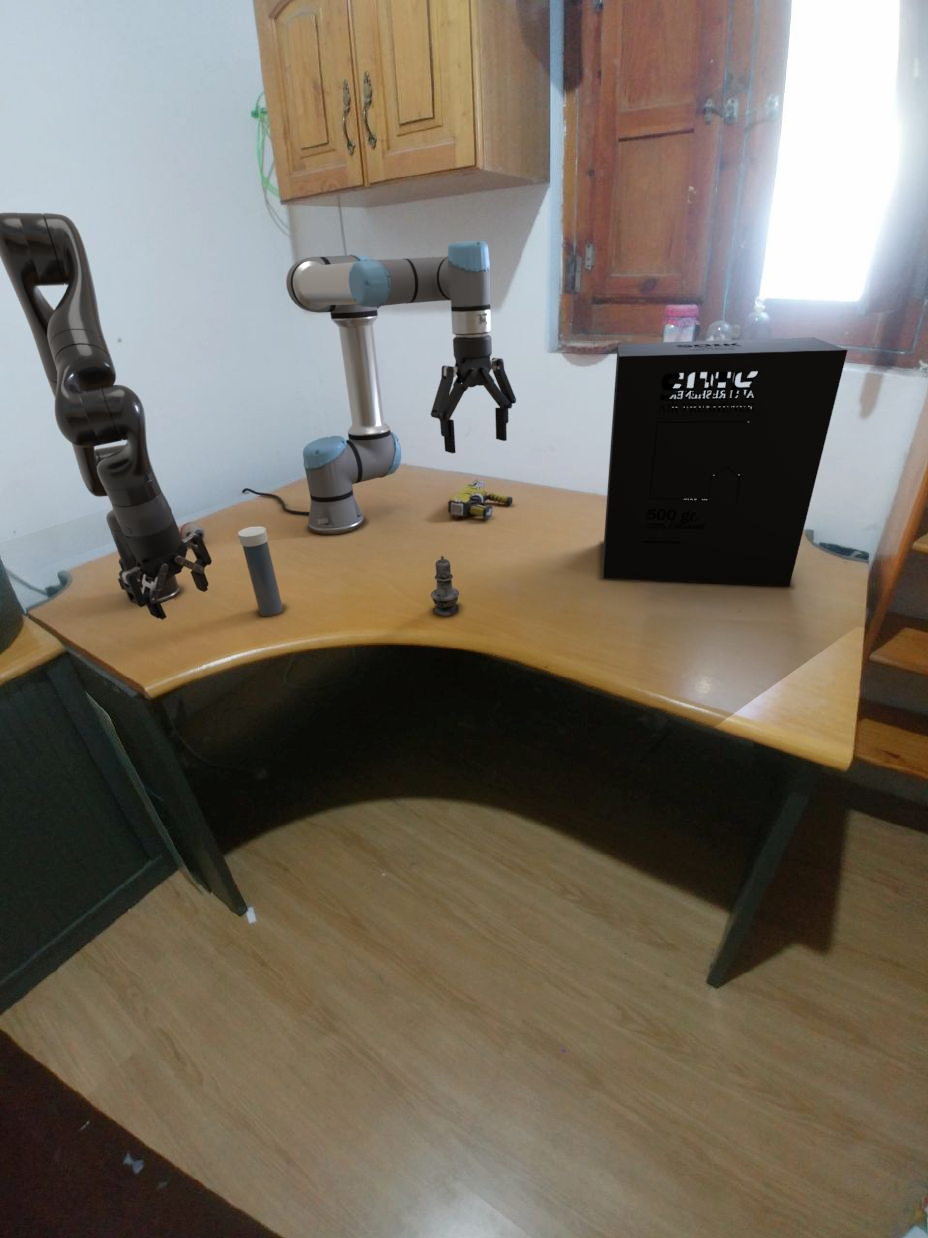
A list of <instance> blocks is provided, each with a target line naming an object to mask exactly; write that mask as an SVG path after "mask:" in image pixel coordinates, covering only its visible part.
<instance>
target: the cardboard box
mask: <svg viewBox="0 0 928 1238" xmlns="http://www.w3.org/2000/svg"><path fill="white" fill-rule="evenodd" d="M848 351H849V350H848V349H847V348H844V347H841V346H838V345H836V344H833V343H830V342H828V341H824V340H822V339H819V338H816V337H813V336H812V337H809V336H808V337H787V338H786V337H785V338H784V337H783V338H753V339H752V338H750V339H749V338H748V339H721V340H719V339H717V340H691V341H690V340H688V341H660V342H631V343H630V342H629V343H628V342H627V343H625V342H624V343H617V348H616V361H615V362H616V363H615V376H614V377H615V378H614V379H615V380H614V391H613V404H612V405H613V406H612V408H613V409H612V418H611V419H612V421H611V434H610V435H611V437H610V449H609V462H608V463H609V464H608V476H607V477H608V478H607V489H606V490H607V492H606V504H605V506H606V507H605V521H604V533H603V534H604V535H603V559H602V560H603V561H602V562H603V566H602V573H603V574H602V579H606V580H612V579H613V580H630V581H631V580H632V581H650V582H651V581H655V582H677V583H697V584H698V583H699V584H720V585H721V584H722V585H723V584H724V585H742V586H767V587H768V586H769V587H787V588H789V587H790V586H791V582H792V578H793V573H794V569H795V566H796V562H797V558H798V557H797V556H798V554H799V550H800V546H801V541H802V538H803V534H804V529H805V525H806V521H807V517H808V514H809V509H810V505H811V501H812V497H813V493H814V488H815V485H816V480H817V476H818V472H819V468H820V464H821V461H822V456H823V452H824V447H825V444H826V440H827V436H828V431H829V428H830V423H831V419H832V415H833V411H834V408H835V403H836V399H837V395H838V391H839V387H840V382H841V379H842V375H843V371H844V367H845V363H846V359H847V354H848ZM753 372H757V373H756V375H754V376H751V377H749V376H750V375H751V373H753ZM702 373H706V377H701V375H702ZM717 373H718V374H717ZM729 373H730V375H729ZM681 374H682V376H683V377H682V378H681ZM692 374H694V378H693V384H692V385H693V386H692V387H688V382H689V377H690V376H691V375H692ZM739 374H740V380H739V383H740V384H741V383H742V384H743V383H750V384H748V386H737V385H736V378H737V376H738V375H739ZM723 383H725V385H724V387H719V384H723ZM706 384H708V385H707V387H706ZM675 385H680V386H679V387H675Z"/></svg>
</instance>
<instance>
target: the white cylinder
mask: <svg viewBox="0 0 928 1238" xmlns="http://www.w3.org/2000/svg"><path fill="white" fill-rule="evenodd" d="M237 535H238V539H239V543H240V545H241V546H242V547H243V546H246V547H252V546H258V545H261V544H264V543H266V542H268V541H269V537H268V533H267V529H266V527H265V526H259V525H258V526H250V527H245V528H243V529H240V530H239V531H238V533H237Z"/></svg>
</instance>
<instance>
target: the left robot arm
mask: <svg viewBox="0 0 928 1238" xmlns="http://www.w3.org/2000/svg"><path fill="white" fill-rule="evenodd" d="M0 260H1V263H2V265H3V267H4V269H5V272H6V274H7V276H8V278H9V281H10V283H11V285H12V288H13V290H14V292H15V295H16V297H17V300H18V302H19V305H20V307H21V309H22V311H23V313H24V316H25V318H26V320H27V323H28V325H29V328H30V330H31V333H32V336H33V339H34V342H35V346H36V349H37V352H38V355H39V357H40V361H41V364H42V367H43V370H44V373H45V376H46V379H47V382H48V384H49V387H50V389H51V393H52V395H53V397H54V416H55V421H56V425H57V427H58V430H59V431H60V433H61V434H62V436H63V437H64V438H65V439H66V440H67V441H68V442H70V444H71V445H72V449H73V453H74V456H75V458H76V463H77V466H78V470H79V473H80V476H81V478H82V481H83V483H84V485H85V488H86V489H87V490H88V492H89V493H90V494H91V495H93V496H94V497H99V498H100V497H101V498H102V497H107V498H108V499H109V502H110V504H111V507H112V509H111V510H110V511H108V513H107V514H106V516H105V517H106V523H107V526H108V528H109V531H110V533H111V537H112V539H113V542H114V544H115V547H116V549H117V553H118V556H119V559H118V564H119V567H120V569H121V570H120V571H119V572H118V576H119V578H117V580H118V581H117V582H118V583H119V586H120V589H121V590H123V591H125V593H126V595H127V598H128V600H129V602H130V603H132V604H135V605H137V606H138V607H140V608H143V607H145V606H146V607H147V610H148V611H149V613H150V615H151V616H152V617H154V618H156V619H158V620H159V619H160V620H162V621H164V620H165V619H167V615H166V612H165V610H164V608H163V606H162V603H163V602H166V601H168V600H170V599H172V598H174V597H175V596H177V595H178V594H179V593H180V591H181V588H180V585H179V583H178V580H177V577H176V575H179V574H180V573H182V571H183V568H184V567H185V568H187V569H189V570H191V571H190V575H191V577H192V580H193V582H194V585H195V588H196V589H197V590H198V591H199V592H203V593H206V592H207V591H208V590H209V589H208V586H209V582H208V578H207V575H206V573H205V568H206V567H207V566H211V564H212V563H213V560H212V558H211V556H210V553H209V550H208V548H207V546H206V544H205V542H204V539H202V537H201V536H199V535H197V534H194V533H192V532H188V533H187V534H186V538H185V539H182V537H181V534H180V529H179V527H178V524H177V522H176V519H175V516H174V514H173V510H172V508H171V506H170V504H169V501H168V500H167V497H166V496H165V494H164V492H163V491H162V488H161V487H160V483H159V481H158V479H157V476H156V473H155V471H154V468H153V465H152V462H151V458H150V455H149V450H148V440H147V426H146V425H147V424H146V412H145V408H144V405H143V403H142V401H141V398H140V397H139V395H137V393H136V392H135V391H134V390H133V389H131V388H130V387H128V386H126V385H123V384H115V383H116V380H117V372H116V368H115V365H114V361H113V359H112V356H111V353H110V350H109V347H108V344H107V341H106V339H105V336H104V332H103V328H102V323H101V319H100V312H99V306H98V299H97V295H96V290H95V284H94V278H93V275H92V270H91V266H90V261H89V257H88V254H87V251H86V247H85V244H84V241H83V238H82V236H81V234H80V231H79V229H78V228H77V226H76V225H75V223H74V222H73V220H72V219H71V218H69V217H68V216H67V215H63V214H59V213H48V212H43V213H42V212H0ZM55 286H56V287H57V286H59V287H61V286H67V287H66V289H65V292H64V293H63V295H62V297H61V299H60V300H59V302H58V303H57V305H56V306H55V308H53V306H52V305H51V304H50V303H49V302H48V300H47V298H45V296H44V294H43V292H42V291H41V289H40V288H39V287H55ZM123 441H126V443H125V444H118V445H113V446H107V447H100V448H99V447H98V446H103V445H109V444H112V443H119V442H123ZM95 447H98V448H96V449H95ZM188 548H190V549H191V550H192V552H193V554H194V557H195V559H196V560H195V561H194V562H193V561H191V560H189V559H186V558H187V555H188V554H187V553H188V550H189V549H188Z"/></svg>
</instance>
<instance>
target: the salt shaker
mask: <svg viewBox="0 0 928 1238" xmlns="http://www.w3.org/2000/svg"><path fill="white" fill-rule="evenodd" d="M453 578H454V576H453V574H452V572H451V562H450V560H448V559H446V558H445V556H444V555H441V556H440V559H438V560H436V561H435V576H434V579H435V580H436V588H435V589H434V590H432V591H431V592H430V598H431V599H432V602H433V603H434V605H435V606H434V607H433V613H434V614H436V615H438V616H452V615H455V614H456V613H458V612H459V610H460V606H459V605H458V604H457V602H458V600H459V596H460V594H461V593H460V591H459V589H457V588H456V587H453V581H452V579H453Z"/></svg>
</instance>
